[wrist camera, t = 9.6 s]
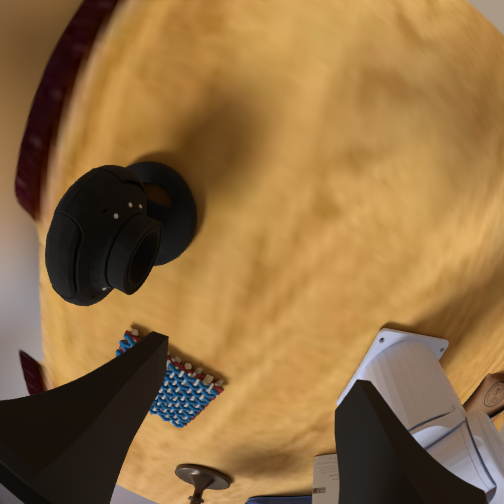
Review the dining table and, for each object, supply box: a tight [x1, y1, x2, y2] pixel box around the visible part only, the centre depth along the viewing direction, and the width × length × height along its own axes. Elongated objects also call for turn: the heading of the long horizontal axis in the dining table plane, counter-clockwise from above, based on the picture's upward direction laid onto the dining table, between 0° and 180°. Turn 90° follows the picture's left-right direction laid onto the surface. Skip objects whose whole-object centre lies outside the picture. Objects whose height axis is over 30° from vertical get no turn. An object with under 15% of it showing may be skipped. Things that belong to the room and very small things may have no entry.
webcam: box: [45, 162, 196, 306], centre depth 14 cm, size 8×8×10 cm
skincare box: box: [312, 454, 339, 504], centre depth 21 cm, size 6×4×12 cm
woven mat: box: [116, 329, 224, 428], centre depth 24 cm, size 10×11×2 cm
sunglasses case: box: [462, 373, 504, 422], centre depth 22 cm, size 18×7×7 cm, turn 162°
